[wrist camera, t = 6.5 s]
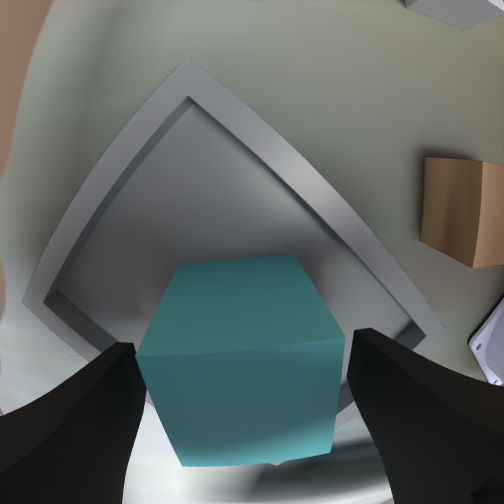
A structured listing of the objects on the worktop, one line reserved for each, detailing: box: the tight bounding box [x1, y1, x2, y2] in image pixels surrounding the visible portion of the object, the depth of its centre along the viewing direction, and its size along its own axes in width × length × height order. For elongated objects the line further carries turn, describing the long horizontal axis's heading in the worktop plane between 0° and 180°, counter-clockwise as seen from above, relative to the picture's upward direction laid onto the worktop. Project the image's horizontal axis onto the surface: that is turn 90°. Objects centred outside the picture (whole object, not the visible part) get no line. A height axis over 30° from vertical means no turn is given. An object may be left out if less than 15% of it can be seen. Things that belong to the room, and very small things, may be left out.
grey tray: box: [22, 58, 447, 466], centre depth 12 cm, size 16×12×2 cm
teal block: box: [135, 253, 346, 466], centre depth 9 cm, size 4×4×6 cm
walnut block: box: [420, 157, 504, 269], centre depth 10 cm, size 4×4×4 cm
